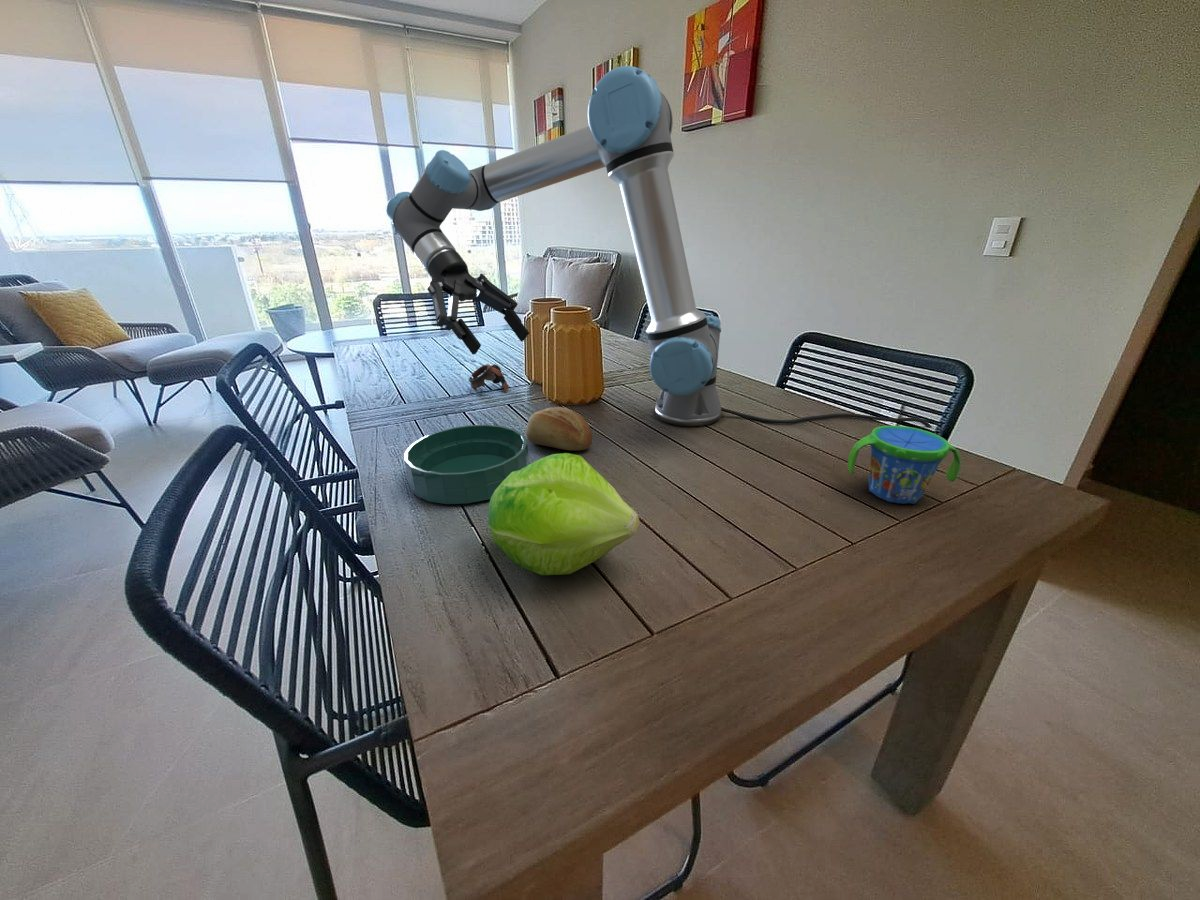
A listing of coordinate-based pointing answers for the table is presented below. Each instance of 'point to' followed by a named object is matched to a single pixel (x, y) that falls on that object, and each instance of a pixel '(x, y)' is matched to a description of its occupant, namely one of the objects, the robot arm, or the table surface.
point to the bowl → (464, 462)
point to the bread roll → (559, 429)
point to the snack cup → (904, 462)
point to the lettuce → (558, 515)
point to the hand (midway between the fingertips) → (502, 343)
